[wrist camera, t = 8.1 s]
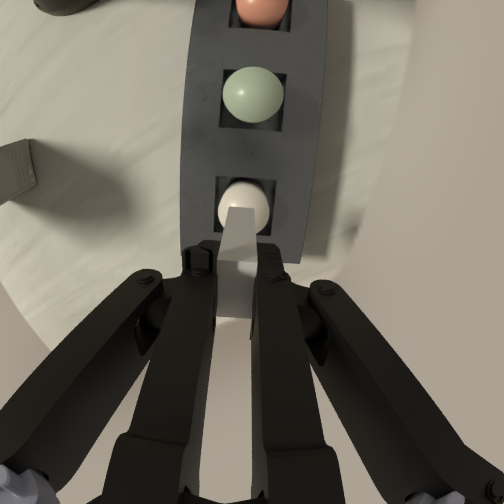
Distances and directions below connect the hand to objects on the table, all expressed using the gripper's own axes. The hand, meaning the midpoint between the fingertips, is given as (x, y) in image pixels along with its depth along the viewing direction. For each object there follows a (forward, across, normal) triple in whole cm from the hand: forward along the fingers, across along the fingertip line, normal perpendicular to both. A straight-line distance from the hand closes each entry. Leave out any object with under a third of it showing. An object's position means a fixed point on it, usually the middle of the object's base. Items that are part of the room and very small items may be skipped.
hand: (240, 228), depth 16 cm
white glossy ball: (+9, 0, -1) cm, 9 cm away
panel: (+11, 0, +8) cm, 13 cm away
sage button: (+7, 0, +8) cm, 11 cm away
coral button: (+9, 0, +17) cm, 19 cm away
